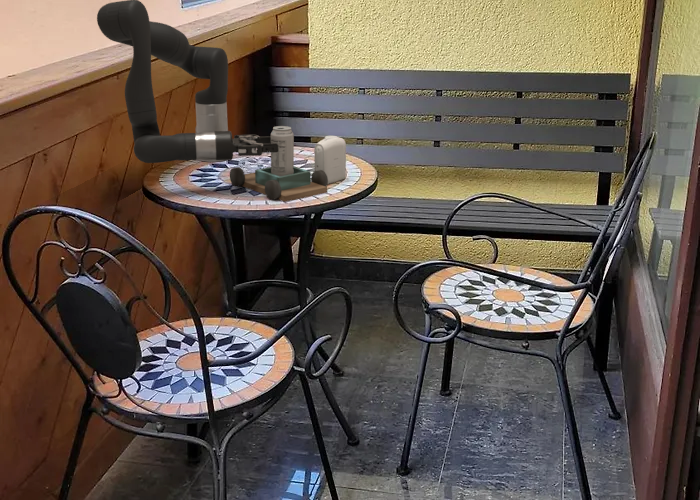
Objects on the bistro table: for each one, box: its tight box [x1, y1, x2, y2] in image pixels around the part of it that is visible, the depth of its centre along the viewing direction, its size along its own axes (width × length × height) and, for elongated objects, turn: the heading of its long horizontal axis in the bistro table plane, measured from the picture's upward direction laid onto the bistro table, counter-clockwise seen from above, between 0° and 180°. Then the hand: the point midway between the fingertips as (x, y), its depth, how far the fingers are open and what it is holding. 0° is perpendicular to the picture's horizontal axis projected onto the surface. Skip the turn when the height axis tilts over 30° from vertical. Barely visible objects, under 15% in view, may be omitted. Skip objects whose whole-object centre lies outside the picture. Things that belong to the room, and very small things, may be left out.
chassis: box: [229, 166, 328, 203], centre depth 218 cm, size 24×17×5 cm
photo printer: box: [313, 136, 347, 185], centre depth 223 cm, size 10×4×12 cm, turn 140°
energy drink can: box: [270, 125, 295, 177], centre depth 214 cm, size 6×6×15 cm
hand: (275, 144), depth 213 cm, fingers open, 8 cm apart
